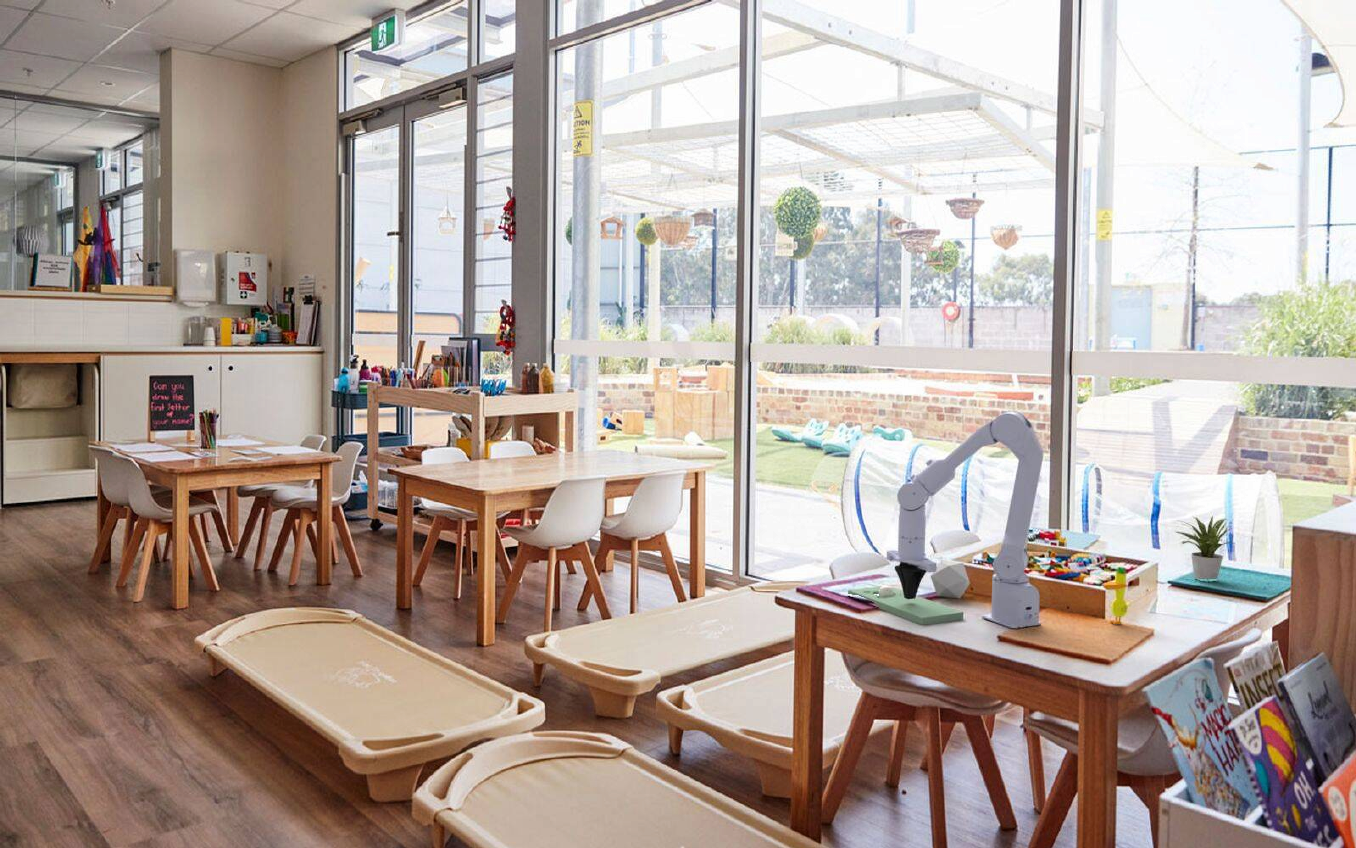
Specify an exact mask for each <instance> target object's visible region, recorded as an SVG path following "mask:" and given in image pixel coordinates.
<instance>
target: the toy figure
mask: <svg viewBox="0 0 1356 848" xmlns="http://www.w3.org/2000/svg"><path fill="white" fill-rule="evenodd" d="M1126 570H1127V569H1126V567H1122V566H1117V570H1116V571H1115V574H1114V575H1115V576H1114V581H1107V582H1103V583H1102V584H1101V585H1102V588H1104V589H1105V590H1106V591H1111V590H1112V591H1113V590H1114V595H1115V599H1113V600H1112V602H1111V606H1110V608H1111V609H1110V610H1111V613H1112V614H1113V616H1114V617H1115V619H1111V620H1109V623H1110V624H1111V623H1114V624H1121V623H1122V621H1121V618H1123V617H1125V615H1126V614H1127V612H1128V607H1129V605H1130V602H1126V601H1125V598H1124V597H1125V593H1126V588H1127V587H1129V586H1128V584H1127V572H1126ZM1122 624H1123V623H1122ZM1122 624H1121V625H1122Z"/></svg>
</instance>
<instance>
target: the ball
mask: <svg viewBox="0 0 1356 848" xmlns="http://www.w3.org/2000/svg"><path fill="white" fill-rule="evenodd" d="M881 586H882V587H881V588H880V589H879V592H878V594H879V596H886V597H888V596H894V590H893V589H892V586H890V585H888V584H887V585H881Z"/></svg>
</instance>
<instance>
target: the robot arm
mask: <svg viewBox="0 0 1356 848" xmlns="http://www.w3.org/2000/svg"><path fill="white" fill-rule="evenodd" d="M997 443H1001V444H1002V445H1003V446H1006V447H1007V448H1008V449H1009V450H1010V452H1012V454H1013V455H1014V456H1015V457H1016V459H1018V463H1017V469H1016V474H1015V479H1014V485H1013V490H1012V495H1011V499H1010V505H1009V510H1008V516H1007V519H1006V525H1005V531H1004V535H1003V538H1002V542H1001V546H1000V549H999V551H998V554H997V555H996V556H995V557H994V559H993V561H992V562H993V563H992V568H993V571H994V574H992V583H991V584H992V586H991V591H992V592H991V607H990V608H991V613H990V614H983V615H982V616H981V617H982V618H983V619H986V620H987V621H991V622H994V623H996V624H999V625H1002V626H1006V627H1008V628H1011V629H1018V628H1017V627H1020V628H1026V626H1027V627H1032V626H1038V625H1042V622H1041V621H1040V619H1039V617H1040V601H1041V600H1040V598H1041V597H1040V593H1039V592H1040V591H1039V590H1038V588H1037V587H1036V586H1034V585H1032V584H1031V583H1030V581H1029V576H1028V575H1027V573H1026V572H1025V570H1026V568H1027V567H1028V565H1029V559H1030V558H1029V553H1028V551H1027V550H1028V549H1027V547H1028V540H1029V539H1028V538H1029V531H1030V526H1031V522H1032V517H1033V512H1034V505H1035V502H1036V501H1035V500H1036V496H1037V491H1038V487H1039V480H1040V475H1041V471H1042V470H1041V469H1042V466H1043V460H1044V450H1043V448H1042V445H1041V443H1040V441H1039V439H1038V437H1037V434H1036V432H1035V429H1034V425H1033V423H1032V422H1031V421H1030V420H1029V419H1028V418H1027V417H1026V416H1025V415H1024V414H1023V413H1022V412H1020V411H1018V410H1007V411H1004V412H1003V413H1002V414H999V415H998V416H997V417H995V418H994V419H993V420H991V421H989V422H988V423H986V424H984V425H983V426H980V427H979V428H978V429H976V430H975V431H973V433H972V434H970V435H969V436H968V437H967V438H966V439H965V440H964V441H963V442H962V443H960V444H959V445H958V446H957V447H956V448H955V449H954V450H952V452H951V453H949V454H948V455H947V456H946V457H935V458H934V459H932V458H931V459H929V460H927V461H926V462H925V464H926V466H925V467H923V468H922V470H920V471H918V473H916V474H912V475H911V476H910V477H909V479H910V481H908V482H906V483H903V484H902V486H901V487H900V488H899V489H898V491H897V494H896V495H897V496H896V497H897V502H898V504H899V514H898V531H897V533H898V535H897V536H898V538H897V539H898V540H897V550H895V549H894V550H891V549H890V550H886V560H888V561H894V562H897V563H899V564H898V565H895V566H894V571H895V572H896V575H897V576H898V579H899V581H900V585H901V588H902V591H903V594H904V598H906V599H915V598H916V596H917V594H918V591H919V587H920V585H921V583H922V580H923V578H924V576H925V575H926V573H933V572H936V568H937V566H938V564H937V562H935V561H933V560H931V559H929V558H928V557H926V556H925V553H926V519H927V515H926V503H927V502H928V501H929V498H930V497H934V496H935V495H936V494H938V492H939V491H941V490H942V489H943V488H944V487H945V486H947V485H948V484H949V483H950V482H952V481H953V480H954V479H955V476H956V469H957V468H958V467H959V466H961V465H962V464H963V463H964V462H966V461H967V460H968V459H969V458H971V457H972V456H973V455H974V454H976V453H977V452H978V451H979V450H980V449H981V448H983V447H987V446H992V445H997ZM1021 626H1022V627H1021Z"/></svg>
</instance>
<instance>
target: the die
mask: <svg viewBox="0 0 1356 848" xmlns="http://www.w3.org/2000/svg"><path fill="white" fill-rule="evenodd" d="M930 579H931V582H932V584H933V587H934V590H935V593H936V597H941V598H942V597H943V598H952V599H961V597H963V594H964V593H965V592H966V590H967V589H968V587H969V585H970V584H971V583H970V579H969V576H968V574H967V570H966V567H965V565H964V563H963V562H958V561H957V562H956V561H944V560H940V561H939V563H938V564H937V568H936V572H931V574H930Z"/></svg>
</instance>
